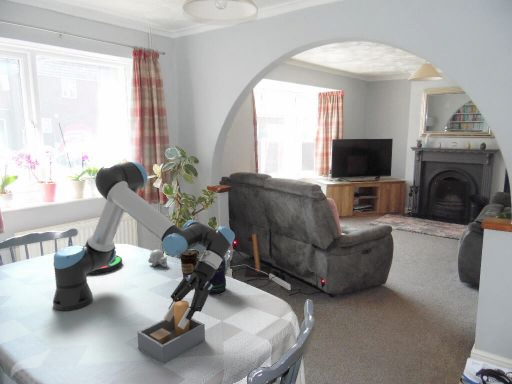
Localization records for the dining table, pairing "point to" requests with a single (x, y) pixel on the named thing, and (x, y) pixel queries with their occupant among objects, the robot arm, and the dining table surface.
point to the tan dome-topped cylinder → (180, 317)
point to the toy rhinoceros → (157, 258)
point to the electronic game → (109, 266)
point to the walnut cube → (161, 336)
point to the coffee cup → (188, 262)
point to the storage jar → (219, 280)
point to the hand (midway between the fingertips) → (173, 323)
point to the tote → (176, 344)
